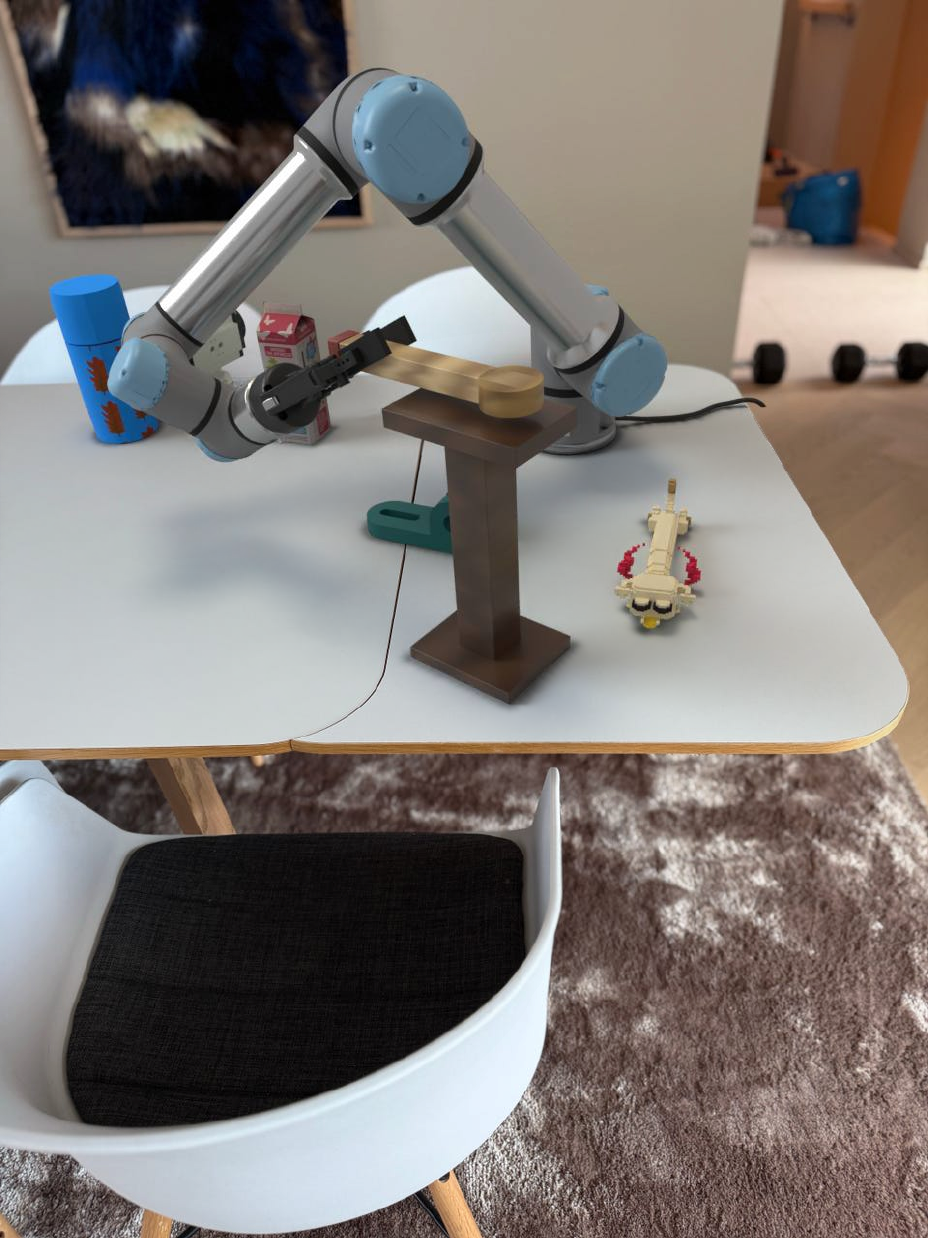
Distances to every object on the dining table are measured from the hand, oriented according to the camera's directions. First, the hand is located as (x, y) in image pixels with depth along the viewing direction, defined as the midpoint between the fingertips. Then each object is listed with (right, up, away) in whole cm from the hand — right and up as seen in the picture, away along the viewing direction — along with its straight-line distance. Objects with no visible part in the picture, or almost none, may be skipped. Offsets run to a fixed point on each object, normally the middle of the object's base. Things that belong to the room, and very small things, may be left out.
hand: (395, 335), depth 89 cm
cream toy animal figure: (+31, -22, +26) cm, 47 cm away
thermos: (-52, +5, +71) cm, 88 cm away
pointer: (+3, -4, 0) cm, 5 cm away
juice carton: (-20, +3, +65) cm, 68 cm away
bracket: (+2, -16, +38) cm, 41 cm away
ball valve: (-39, +12, +79) cm, 89 cm away
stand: (+10, -31, +16) cm, 37 cm away
